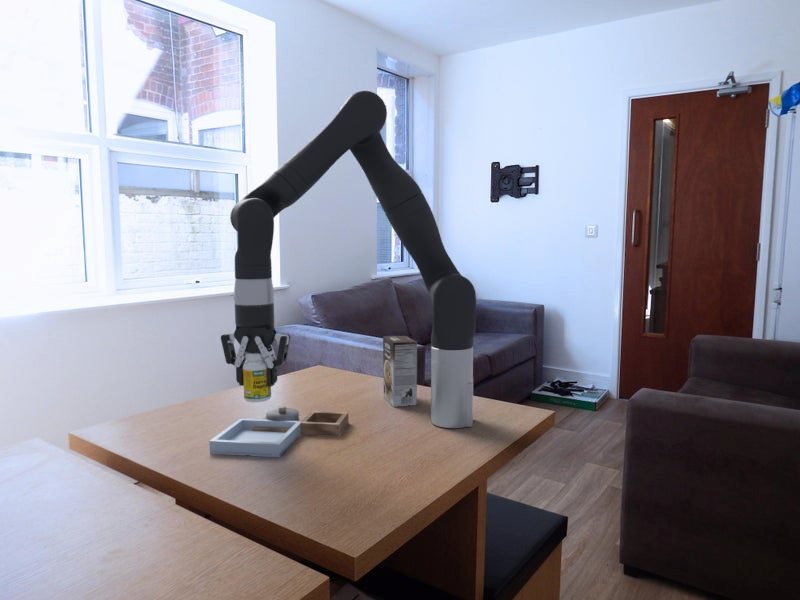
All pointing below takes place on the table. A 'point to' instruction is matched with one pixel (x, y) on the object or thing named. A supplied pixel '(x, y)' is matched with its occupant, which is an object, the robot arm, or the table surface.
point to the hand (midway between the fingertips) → (256, 384)
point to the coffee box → (400, 370)
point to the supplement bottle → (255, 378)
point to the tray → (255, 438)
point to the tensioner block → (308, 421)
